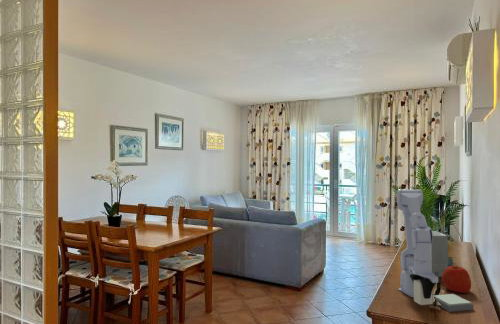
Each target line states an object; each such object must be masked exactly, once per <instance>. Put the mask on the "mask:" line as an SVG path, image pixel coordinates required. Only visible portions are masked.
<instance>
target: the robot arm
mask: <svg viewBox="0 0 500 324" xmlns="http://www.w3.org/2000/svg"><path fill="white" fill-rule="evenodd" d="M396 201H397V207H398V210H400V211H402V215H403V220H404V232H405V241H406V248H405V249H404V250H402V251H401V253H400V269H401V272H400V275H399V280H400V281H399V282H400V285H399V287H400V288H398V290H399V291H400V292H402V293H404V294H406V295H407V296H409V297H411V298H414V280H420V282H421V284H422V288H423V295H424V298H425V299H429V298H430V297H431V293H432V290H433V289H435V286H436V284H438V283H439V277H437V276H435V275H434V274H433V273H432V272H431V244H432V242H433V234H432V231H433V230H432V228H431V227H430V226H428V223H427V219H426V216H425V215H424V214H422V212H421V207H422V205H423V201H424V193H423V190H421V189H400V188H398V189H397V191H396ZM430 243H431V244H430Z"/></svg>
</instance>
